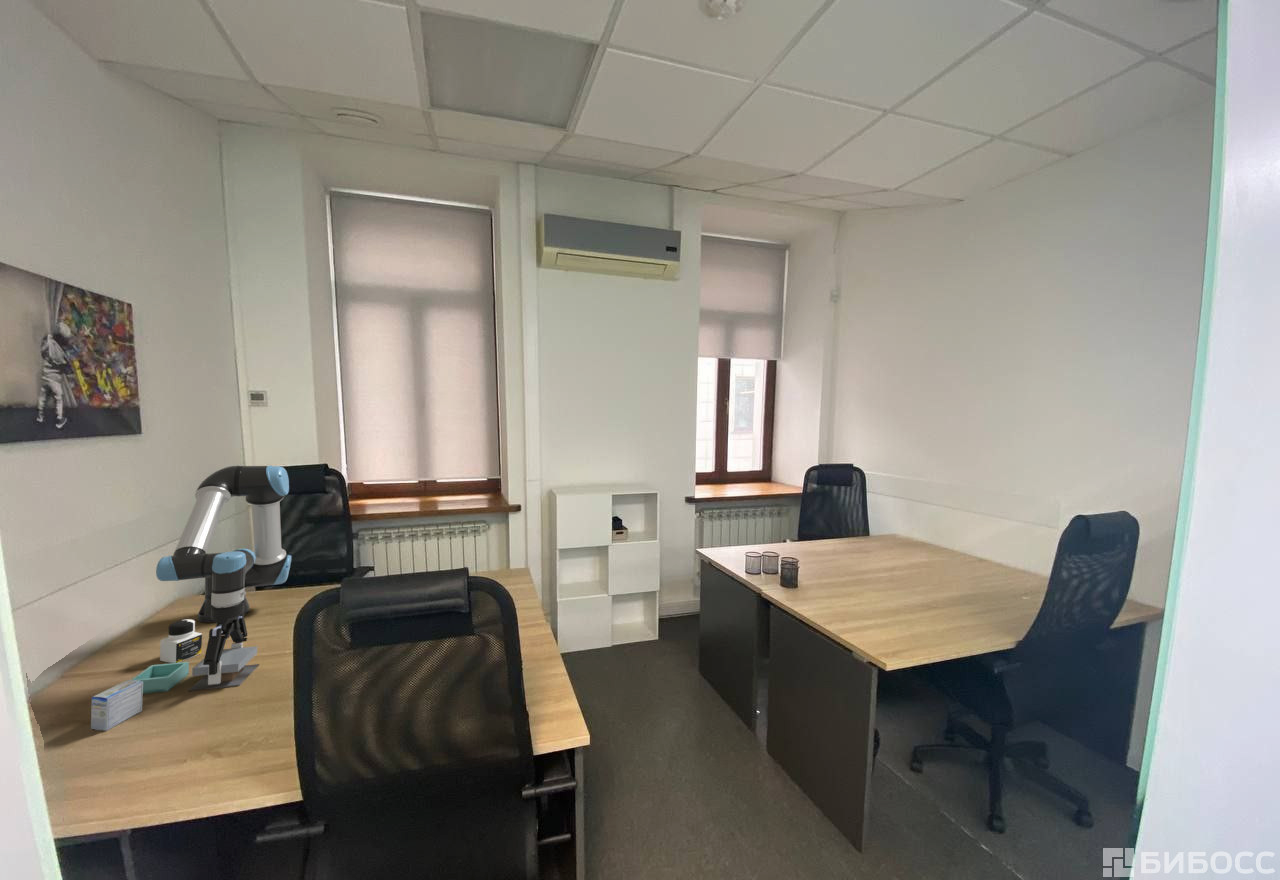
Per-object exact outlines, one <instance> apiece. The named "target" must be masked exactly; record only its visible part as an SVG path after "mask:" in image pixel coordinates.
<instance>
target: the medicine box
mask: <svg viewBox="0 0 1280 880" xmlns="http://www.w3.org/2000/svg"><path fill="white" fill-rule="evenodd" d="M90 709H91V712H90V713H91V716H90V717H91V719H90V730H92V729H95V730H94V731H102V730H103V731H104V732H105V731H106V732H107V731H109V730H111V729H112V728H114V727H116V726H117V725H119V724H121V723H123V722H125V721H127V720H129V719H130V718H132V717H134V716H135V715H137V714H140V713H141V712H142V711H143V681H136V680H131V679H126V680H125V681H123V682H121V683H118V684H116V685H114V686H111V687H110V688H108V689H106V690H104V691H102V692H99V693H97V694H95V695H93V696H92V697H91V708H90Z"/></svg>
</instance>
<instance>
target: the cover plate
mask: <svg viewBox="0 0 1280 880" xmlns="http://www.w3.org/2000/svg"><path fill="white" fill-rule="evenodd" d="M257 654H258V646H243V648H232V649H231V648H224V649H223V652H222V655H221V658H220V661H222V664H221V673H230V672H238V671H239V670H240V669H241V668H243V667H244V666H245V665H248V663H249V662H250V661H251V660H252V659H253V658H254V657H255V656H256V655H257ZM203 663H204V658H203V659H202V660H201V661H200V662H198V663H196V665H194V666H193V667H192V672H191V673H192V675H191V676H192V677H197V676H205V675H208V671H209V665H203Z"/></svg>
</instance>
